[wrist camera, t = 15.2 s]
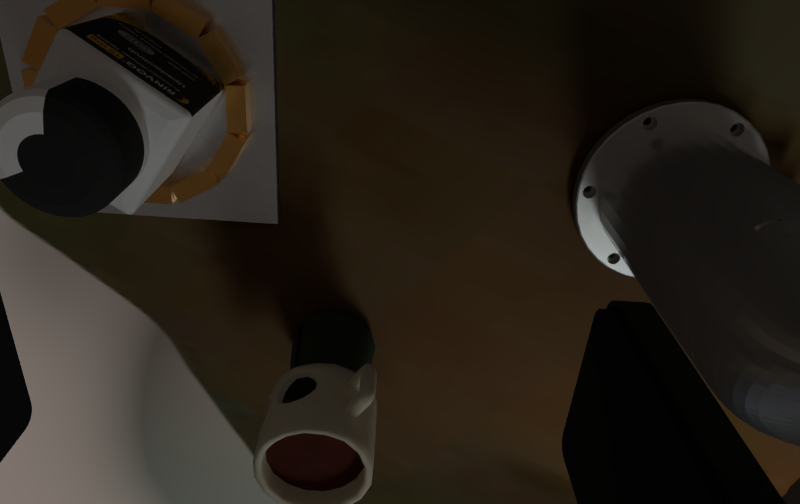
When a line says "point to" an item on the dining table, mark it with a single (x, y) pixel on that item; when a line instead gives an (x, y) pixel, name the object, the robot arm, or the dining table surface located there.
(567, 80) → the dining table surface
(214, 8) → the white square ringed board
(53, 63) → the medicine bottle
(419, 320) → the dining table surface
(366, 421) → the character mug
